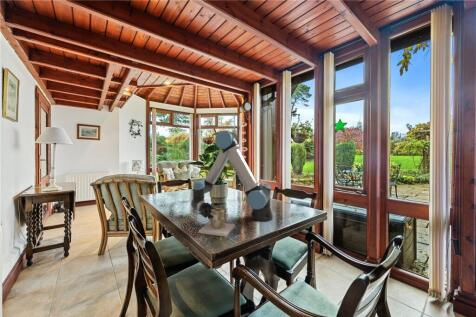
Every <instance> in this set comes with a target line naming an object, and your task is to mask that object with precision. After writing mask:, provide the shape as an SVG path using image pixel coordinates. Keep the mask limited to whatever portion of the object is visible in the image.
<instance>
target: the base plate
mask: <svg viewBox="0 0 476 317" xmlns="http://www.w3.org/2000/svg"><path fill="white" fill-rule="evenodd" d="M235 227H236V224H235V223H226V222H225V228H221V229H216V230H215V229H214V228H212V227H211V220H210V221H209V222H208V223H206V224H205V225H204V226H202V227H201V228H200V229H198V234H204V235H209V236H219V237H226V238H227V236H228V235H229V234H230V233H231V232H232V231H233V230H234V229H235Z"/></svg>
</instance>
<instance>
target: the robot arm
mask: <svg viewBox="0 0 476 317" xmlns="http://www.w3.org/2000/svg"><path fill="white" fill-rule="evenodd" d="M214 138H215V139H214V143H215V145H216V147H217V148H219V149H221V150H220V151H219V153H218V155H217V157H216V159H215V161H214V163H212V164H213V165H212V166H211V168H210V170H209V172H208V174H207V176H206V177H205V179H204V181H200V180H198V181H194V182H193V184H192V185H193V186H192V193H193V194H192V200H191V202H190V206H191V207H192V209H194V210H196V211H197V212H198V214H199V215H201V216H202V217H204V218H205V219H206V218H207V219H208V220H211V218H212V219H213V220H215V221H217V215H215V214H213V213H211V209H217V208H220V206H217V207H213V205H212V204H211V203H209V202H207V201H205V194H207V193H210V192H212V191H213V190H214V188H215V183H216V182H217V180H218V179H219V176H220V175H221V174H222V171H223V170H224V168H225V166H226V164H227V162H228V161H230V163H231V164H230V165H232V167H233V169H234V171H235V173H236V174H237V176H238V179H239V180H240V182H241V184H242V186H243V187H244V192H243V193H244V195H245V197H246V202H247V205H248V206H249V207H250V208H251V209H252V210H251V212H250V219H251V220H254V221H257V222H269V220H270V221H272V220H273V219H274V217H273V212H272V208H271V196H272V194H271V193H272V192H271V191H272V190H271V189H272V186H271V185H269V184H262V183H261V182H258V181H257V179H256V178H255V175H254V174H253V172H252V170H251V169H250V167H249V165H248V163H247V162H246V160H245V158H244V155H243V154H242V153H241V151H240V144H239V142H240V139H239V137H238V135H237V133H235V132H233V131H229V130H227V129H226V130H221V131H219V132H218V133H217V134H216V136H215V137H214ZM222 209H223V210H225V220H229V213H228V212H227V210H226V209H224V208H222Z"/></svg>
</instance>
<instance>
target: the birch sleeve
mask: <svg viewBox="0 0 476 317" xmlns="http://www.w3.org/2000/svg"><path fill="white" fill-rule="evenodd" d="M216 208H217V207H216ZM223 209H224V208H221V207H219V208H217V209H211V213H213V214H215V215H217V221H215V220H213V219H212V218H210V221H211V227H212V228H214V229H215V230H216V229H221V228H225V223H226V218H225V210H226V209H224V210H223ZM211 213H210V214H211Z"/></svg>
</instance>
